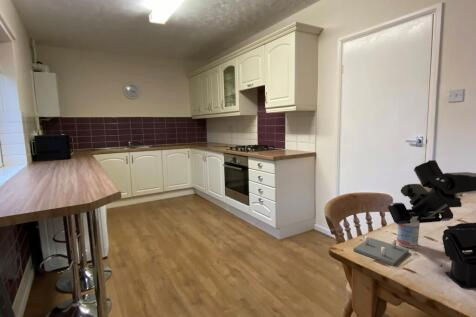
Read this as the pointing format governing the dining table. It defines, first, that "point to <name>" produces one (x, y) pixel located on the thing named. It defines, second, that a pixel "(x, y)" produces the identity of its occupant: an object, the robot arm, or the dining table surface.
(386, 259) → the pin tray
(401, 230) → the pill bottle
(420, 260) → the dining table surface
